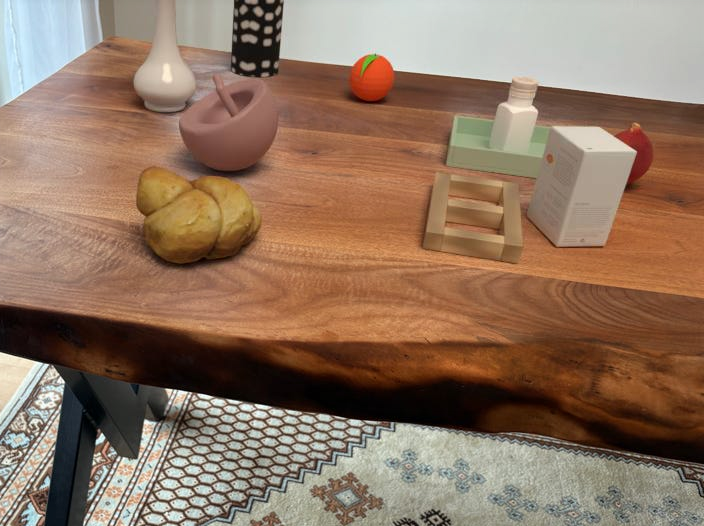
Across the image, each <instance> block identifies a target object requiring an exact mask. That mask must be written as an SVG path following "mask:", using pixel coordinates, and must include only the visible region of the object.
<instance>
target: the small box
mask: <svg viewBox="0 0 704 526" xmlns="http://www.w3.org/2000/svg"><path fill="white" fill-rule="evenodd" d="M550 127H551V128H550V132H549V136H548V139H547V143H546V147H545V150H544V154H543V157H542V161H541V165H540V168H539V172H538V176H537V178H535V183H534V187H533V190H532V194H531V198H530V202H529V205H528V208H527V212H526V217H527V219H529V221H531V222H532V224H534V226H535V227H536V228H537V229H538V230H539V231H540V232H541V233H542V234H543V235H545V237H546V238H547V239H548V240H549V241H550V242H551V243H552V244H553V245H554V246H555V247H556V248H562V247H563V248H564V247H567V248H569V247H572V248H573V247H605V246H606V244H607V241H608V238H609V235H610V232H611V230H612V228H613V227H612V226H613V224H614V220H615V218H616V215H617V212H618V209H619V206H620V203H621V200H622V197H623V195H624V192H625V189H626V185H627V184H626V183H627V180H628V177H629V174H630V171H631V168H632V165H633V162H634V160H635V157H636V154H637V151H635V150H634V149H632V148H631V147H629V146H628V145H626V144H625V143H623V142H622V141H620V140H618V139H617V138H615V137H614V136H615V135H612V134H611V133H609V132H608V131H606V130H605V129H603V128H602V127H600V126H581V125H580V126H579V125H578V126H577V125H575V126H574V125H553V126H550Z"/></svg>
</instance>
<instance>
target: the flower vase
mask: <svg viewBox="0 0 704 526" xmlns="http://www.w3.org/2000/svg"><path fill="white" fill-rule="evenodd" d="M153 1H154V3H153V4H154V5H153V8H154V11H153V12H154V14H153V34H152V35H153V36H152V43H151V47H150V50H149V53H148V55H147V58H146V59H145V61H143V63H142V64H141V65H140V66H139V67H138V69H136V72H135V73H134V77H133V82H132V83H133V89H134V91H135V93H136V94H137V95H138V97H139V98H141V99H142V100H143V101H144V102H143V103H144V107H145V108H146V109H147V110H149V111H152V112H156V113H177V112H180V111H183V110H184V109H185V108H186V106H187V104H186V102H187V101H189V100H190V99H191V98H192V97H193V95H195V92H196V90H197V86H198V85H197V84H198V83H197V80H196V75H195V74H194V71H193V70H192V69H191V68H190V66H189V65H188V64H187V63H186V62H185V60H184V59H183V56H182V54H181V51H180V48H179V45H178V37H177V15H176V12H177V11H176V10H177V9H176V8H177V7H176V3H177V2H176V1H177V0H153Z"/></svg>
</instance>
